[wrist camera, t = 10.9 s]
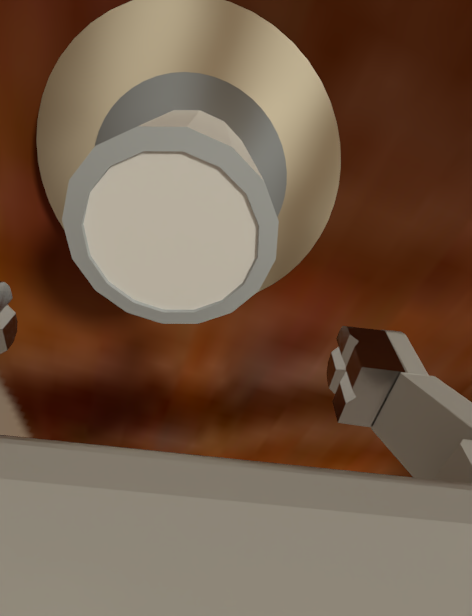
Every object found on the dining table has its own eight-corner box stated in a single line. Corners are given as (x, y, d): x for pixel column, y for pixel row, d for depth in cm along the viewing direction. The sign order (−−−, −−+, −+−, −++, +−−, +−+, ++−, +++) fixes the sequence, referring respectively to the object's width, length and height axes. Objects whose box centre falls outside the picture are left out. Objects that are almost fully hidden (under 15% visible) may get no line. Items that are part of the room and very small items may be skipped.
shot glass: (213, 266, 21) (206, 354, 15) (91, 195, 19) (30, 267, 13) (294, 155, 18) (325, 214, 12) (159, 53, 15) (116, 66, 10)
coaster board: (376, 28, 16) (387, 28, 15) (297, 305, 24) (300, 318, 23) (23, -36, 15) (7, -42, 14) (63, 278, 23) (55, 290, 22)
